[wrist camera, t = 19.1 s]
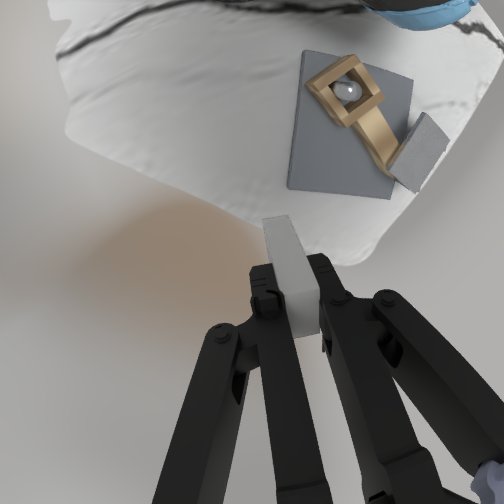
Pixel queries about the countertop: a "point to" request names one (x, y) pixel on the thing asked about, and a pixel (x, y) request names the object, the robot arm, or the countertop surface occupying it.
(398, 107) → the base plate
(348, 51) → the countertop surface
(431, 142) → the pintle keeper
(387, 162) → the link
